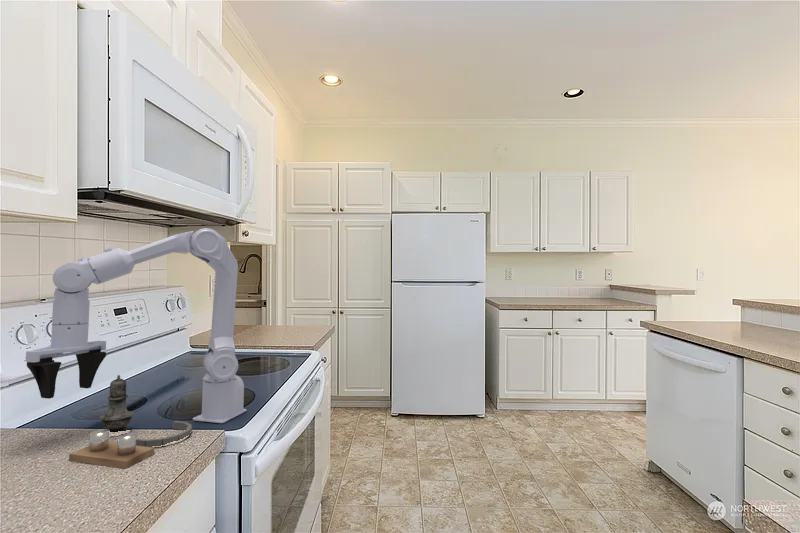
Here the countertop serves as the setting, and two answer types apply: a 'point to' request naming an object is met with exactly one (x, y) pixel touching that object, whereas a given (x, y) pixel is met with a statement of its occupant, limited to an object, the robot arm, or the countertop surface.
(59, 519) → the countertop surface
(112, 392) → the grey stone tall piece
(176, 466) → the countertop surface
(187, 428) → the segmented grey arc
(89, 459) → the pin board
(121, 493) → the countertop surface
